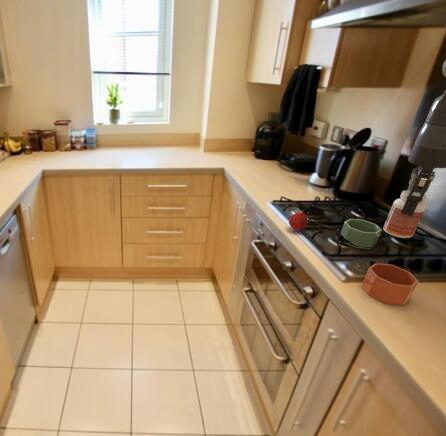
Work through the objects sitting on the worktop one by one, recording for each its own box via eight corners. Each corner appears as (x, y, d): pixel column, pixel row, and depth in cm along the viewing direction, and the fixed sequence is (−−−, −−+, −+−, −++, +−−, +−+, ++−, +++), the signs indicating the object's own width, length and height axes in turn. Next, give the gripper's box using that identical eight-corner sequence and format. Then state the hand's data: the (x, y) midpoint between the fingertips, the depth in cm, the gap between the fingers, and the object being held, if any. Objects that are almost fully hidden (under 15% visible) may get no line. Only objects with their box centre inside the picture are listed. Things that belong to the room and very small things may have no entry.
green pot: (366, 235, 110) (372, 220, 107) (379, 250, 102) (386, 234, 99) (336, 233, 112) (341, 218, 109) (347, 247, 103) (352, 231, 101)
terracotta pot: (395, 283, 87) (403, 265, 84) (415, 307, 79) (425, 288, 76) (356, 279, 89) (364, 261, 86) (372, 302, 81) (381, 283, 78)
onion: (295, 225, 117) (301, 206, 113) (308, 233, 112) (314, 213, 108) (283, 228, 115) (288, 208, 111) (295, 236, 110) (301, 215, 107)
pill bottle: (418, 239, 79) (438, 199, 74) (391, 238, 80) (409, 198, 75) (402, 227, 85) (419, 189, 80) (377, 226, 86) (392, 188, 80)
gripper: (461, 153, 65) (426, 225, 73) (458, 140, 74) (427, 204, 82) (413, 148, 69) (385, 215, 77) (416, 135, 79) (391, 197, 86)
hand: (407, 209), depth 79 cm, fingers closed on pill bottle, 6 cm apart
